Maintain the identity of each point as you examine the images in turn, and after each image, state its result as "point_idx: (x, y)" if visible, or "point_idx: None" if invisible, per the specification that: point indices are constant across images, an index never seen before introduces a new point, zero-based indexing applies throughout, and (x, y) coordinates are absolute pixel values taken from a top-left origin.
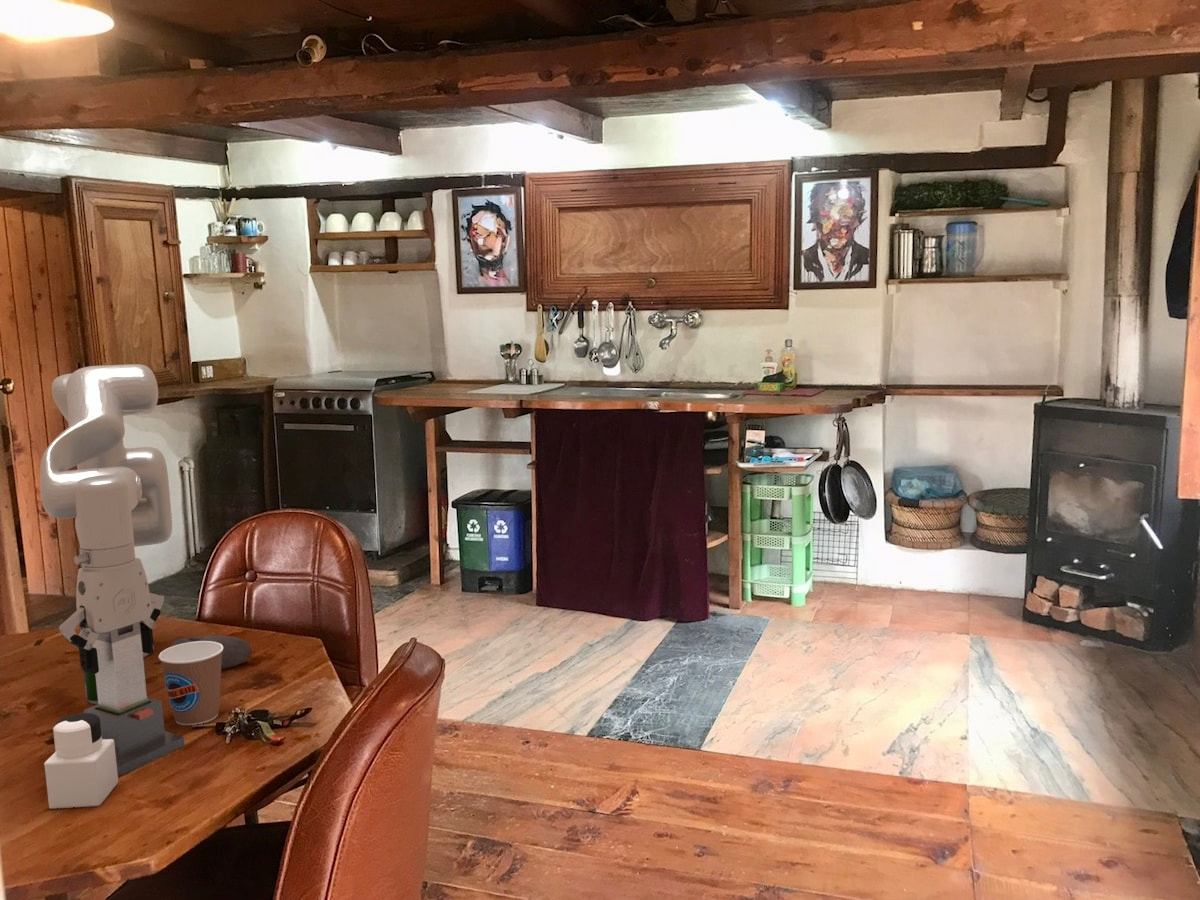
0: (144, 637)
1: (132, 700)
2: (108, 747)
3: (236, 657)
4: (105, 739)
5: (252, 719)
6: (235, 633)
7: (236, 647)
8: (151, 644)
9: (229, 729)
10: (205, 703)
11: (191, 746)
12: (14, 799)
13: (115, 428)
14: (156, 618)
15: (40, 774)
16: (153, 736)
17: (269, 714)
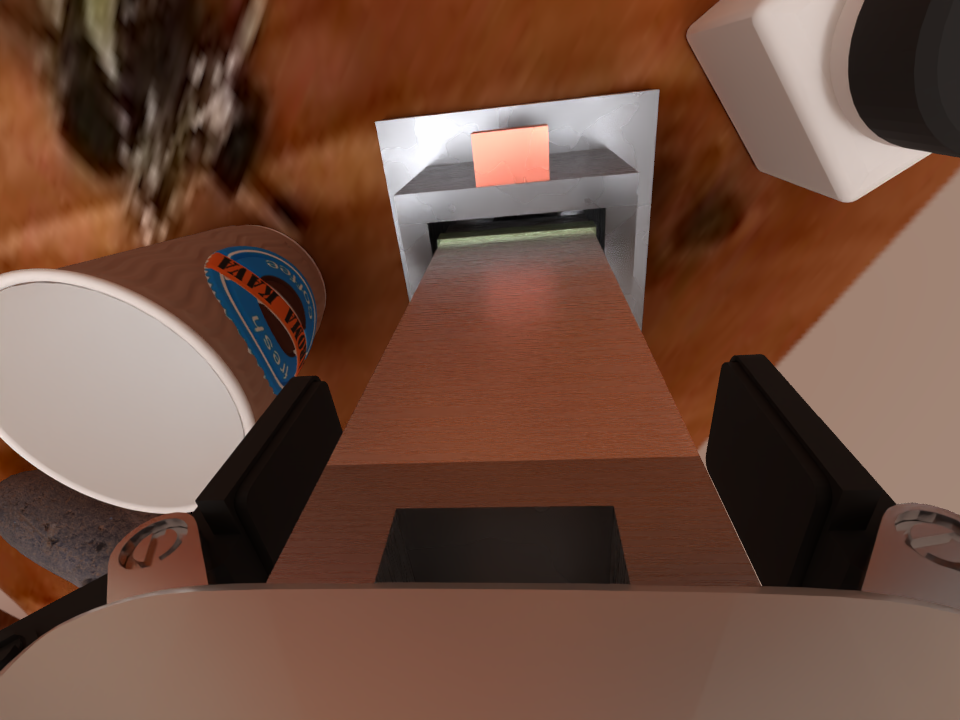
0: (287, 483)
1: (514, 242)
2: None
3: (52, 481)
4: (784, 36)
5: (127, 108)
6: (40, 599)
7: (24, 503)
8: (276, 410)
9: (219, 104)
10: (223, 233)
11: (370, 92)
12: (883, 234)
13: None
14: (67, 600)
15: (729, 321)
16: (468, 165)
17: (64, 91)
